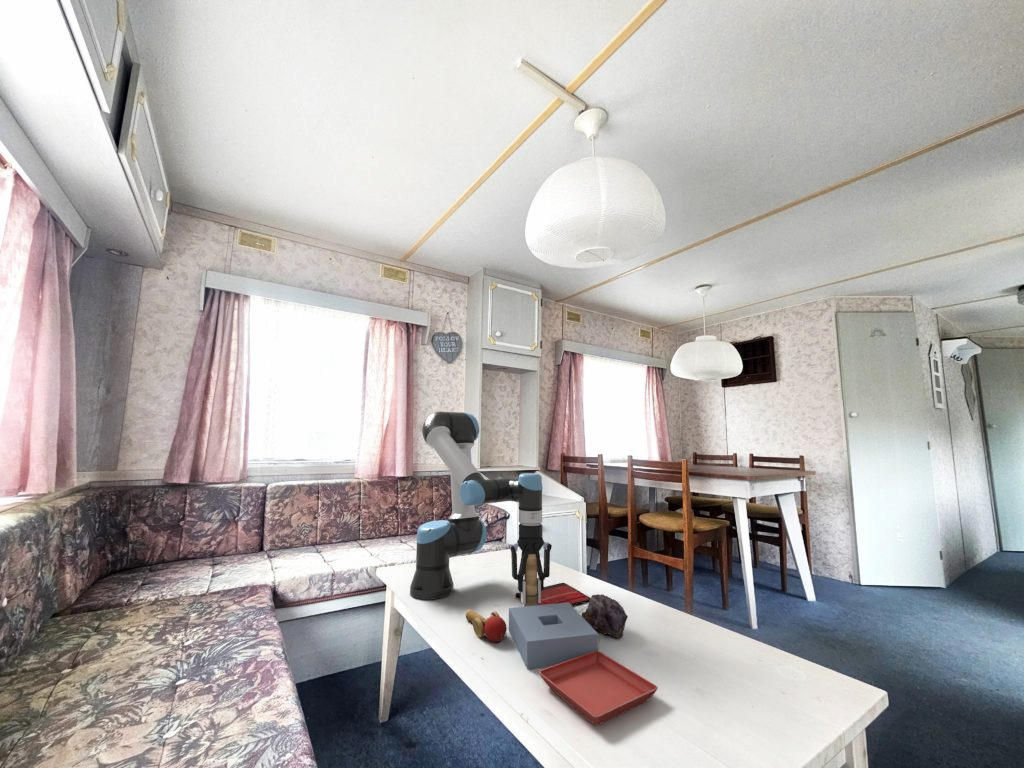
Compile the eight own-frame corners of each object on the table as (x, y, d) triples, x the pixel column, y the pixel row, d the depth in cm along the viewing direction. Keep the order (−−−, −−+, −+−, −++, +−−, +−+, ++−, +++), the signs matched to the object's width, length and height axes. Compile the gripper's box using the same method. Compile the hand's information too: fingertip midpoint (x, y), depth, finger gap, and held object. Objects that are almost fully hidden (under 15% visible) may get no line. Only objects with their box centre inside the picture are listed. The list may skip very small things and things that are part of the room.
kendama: (456, 629, 118) (486, 645, 104) (458, 604, 120) (489, 617, 106) (479, 627, 122) (512, 643, 108) (481, 604, 124) (513, 616, 110)
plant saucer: (597, 663, 98) (597, 648, 99) (660, 703, 83) (659, 686, 84) (537, 687, 88) (537, 670, 89) (596, 738, 73) (595, 717, 74)
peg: (522, 612, 126) (522, 551, 129) (535, 611, 127) (535, 551, 130) (526, 618, 122) (525, 555, 125) (539, 616, 123) (539, 554, 126)
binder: (515, 592, 138) (563, 581, 149) (515, 599, 138) (563, 588, 149) (543, 610, 125) (593, 597, 136) (543, 619, 124) (593, 604, 135)
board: (508, 630, 114) (508, 607, 115) (569, 624, 118) (568, 602, 119) (527, 669, 95) (527, 641, 96) (598, 660, 99) (598, 633, 100)
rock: (614, 648, 107) (632, 634, 114) (617, 616, 107) (634, 603, 114) (577, 627, 115) (595, 615, 122) (580, 597, 115) (598, 587, 122)
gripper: (506, 527, 123) (506, 609, 120) (560, 524, 127) (561, 604, 124) (501, 522, 130) (501, 599, 127) (552, 520, 134) (553, 595, 131)
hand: (530, 601), depth 125 cm, fingers closed on peg, 4 cm apart
